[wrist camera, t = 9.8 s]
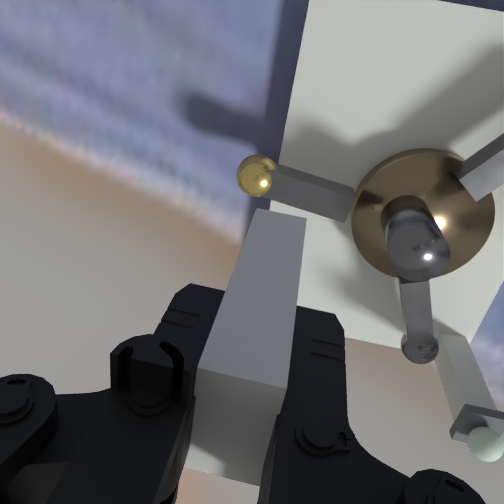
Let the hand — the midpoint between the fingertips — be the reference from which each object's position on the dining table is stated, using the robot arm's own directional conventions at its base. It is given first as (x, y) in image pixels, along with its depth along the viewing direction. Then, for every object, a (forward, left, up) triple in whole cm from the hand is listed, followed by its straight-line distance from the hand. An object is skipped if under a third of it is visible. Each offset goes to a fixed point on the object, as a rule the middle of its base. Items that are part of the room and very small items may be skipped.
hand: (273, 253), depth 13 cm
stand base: (+3, +7, -16) cm, 18 cm away
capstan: (+3, +5, -15) cm, 16 cm away
